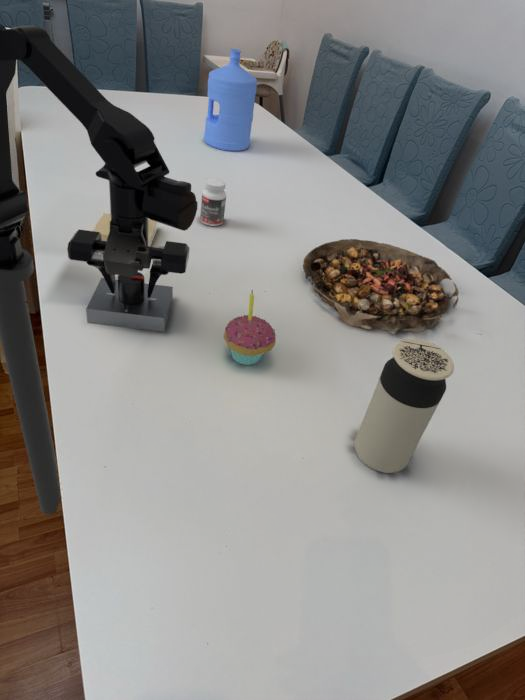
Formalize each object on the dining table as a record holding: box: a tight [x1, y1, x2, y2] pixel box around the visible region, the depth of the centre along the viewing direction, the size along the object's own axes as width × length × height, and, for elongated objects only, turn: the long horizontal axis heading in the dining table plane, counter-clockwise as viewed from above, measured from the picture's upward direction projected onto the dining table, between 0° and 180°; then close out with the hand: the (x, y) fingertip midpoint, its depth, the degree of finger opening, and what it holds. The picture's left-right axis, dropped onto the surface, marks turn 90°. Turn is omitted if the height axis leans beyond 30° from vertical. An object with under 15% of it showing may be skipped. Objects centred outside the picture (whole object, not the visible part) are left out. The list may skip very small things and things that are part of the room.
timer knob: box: [117, 271, 145, 304], centre depth 86 cm, size 4×4×4 cm
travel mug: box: [353, 338, 455, 474], centre depth 66 cm, size 8×8×18 cm
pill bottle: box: [200, 177, 227, 227], centre depth 119 cm, size 6×6×10 cm
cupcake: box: [223, 289, 277, 366], centre depth 80 cm, size 9×8×12 cm
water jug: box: [203, 48, 258, 152], centre depth 161 cm, size 16×16×28 cm
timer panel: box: [85, 277, 174, 333], centre depth 88 cm, size 13×10×3 cm
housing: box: [92, 212, 158, 247], centre depth 109 cm, size 12×10×4 cm
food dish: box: [302, 238, 459, 335], centre depth 106 cm, size 35×33×8 cm
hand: (131, 294), depth 87 cm, fingers open, 6 cm apart
